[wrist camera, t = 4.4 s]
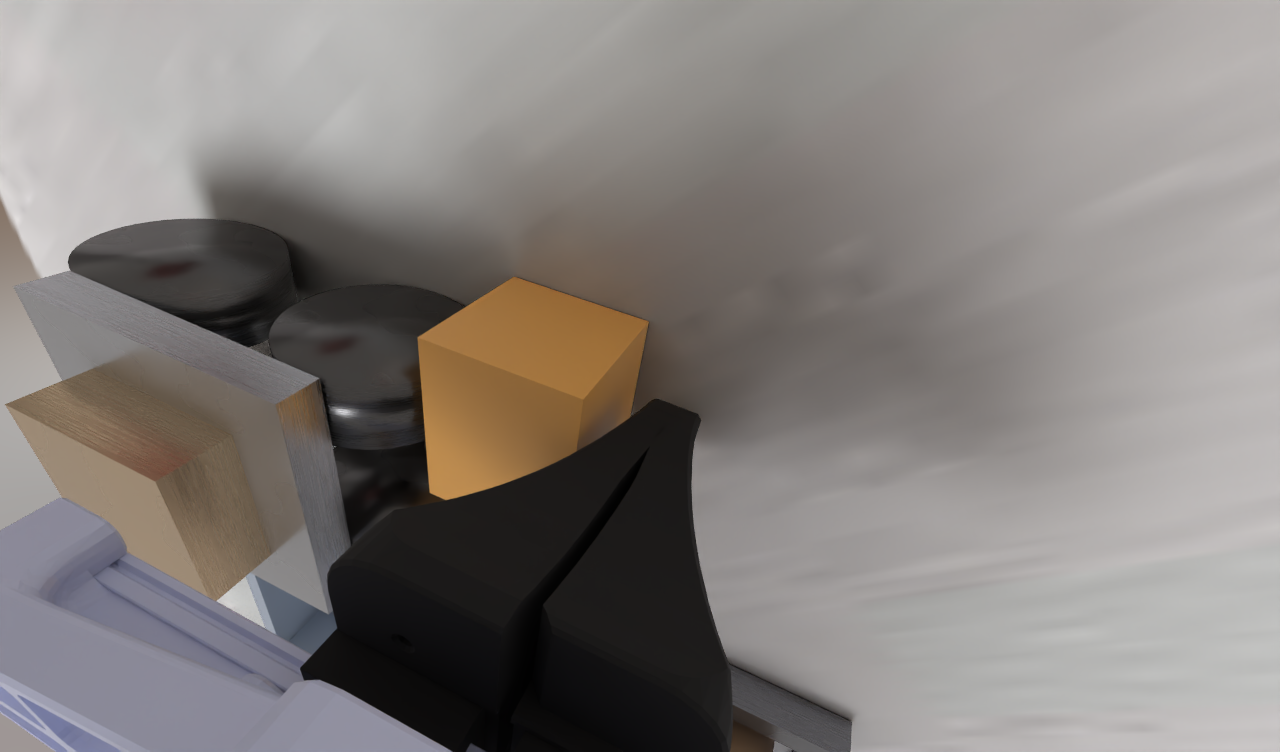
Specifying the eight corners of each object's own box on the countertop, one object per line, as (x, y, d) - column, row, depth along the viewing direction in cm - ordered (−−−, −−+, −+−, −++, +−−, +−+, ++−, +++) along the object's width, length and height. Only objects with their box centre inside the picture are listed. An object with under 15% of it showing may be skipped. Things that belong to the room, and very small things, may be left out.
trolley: (501, 500, 18) (335, 700, 13) (256, 390, 20) (20, 521, 15) (512, 317, 14) (276, 493, 9) (205, 203, 16) (-146, 285, 11)
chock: (622, 458, 15) (563, 552, 12) (509, 414, 16) (429, 492, 13) (649, 321, 13) (583, 399, 10) (513, 276, 13) (417, 337, 11)
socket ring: (787, 793, 21) (782, 829, 20) (639, 718, 22) (628, 749, 21) (851, 722, 17) (850, 761, 16) (672, 637, 18) (660, 669, 18)
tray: (515, 701, 25) (479, 765, 23) (323, 599, 27) (273, 649, 25) (532, 554, 19) (485, 622, 17) (281, 437, 21) (210, 484, 19)
